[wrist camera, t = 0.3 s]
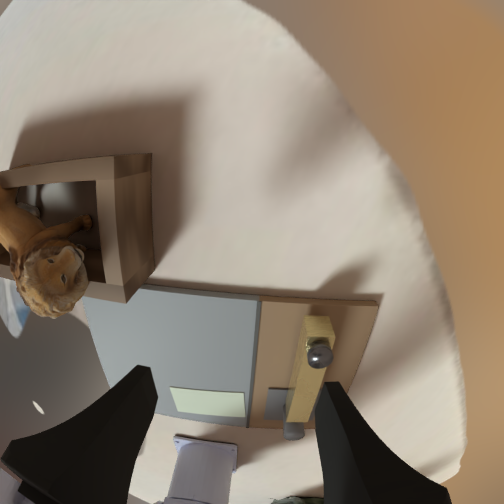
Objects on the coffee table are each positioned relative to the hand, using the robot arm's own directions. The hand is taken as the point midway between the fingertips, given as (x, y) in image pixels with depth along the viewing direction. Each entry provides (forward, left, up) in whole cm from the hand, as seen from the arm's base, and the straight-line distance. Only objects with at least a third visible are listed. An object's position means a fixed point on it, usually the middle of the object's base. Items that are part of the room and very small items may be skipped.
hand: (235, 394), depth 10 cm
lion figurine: (+5, +15, -10) cm, 19 cm away
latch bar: (-6, -5, -8) cm, 11 cm away
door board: (-9, +2, -10) cm, 13 cm away
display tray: (+5, +15, -10) cm, 19 cm away
